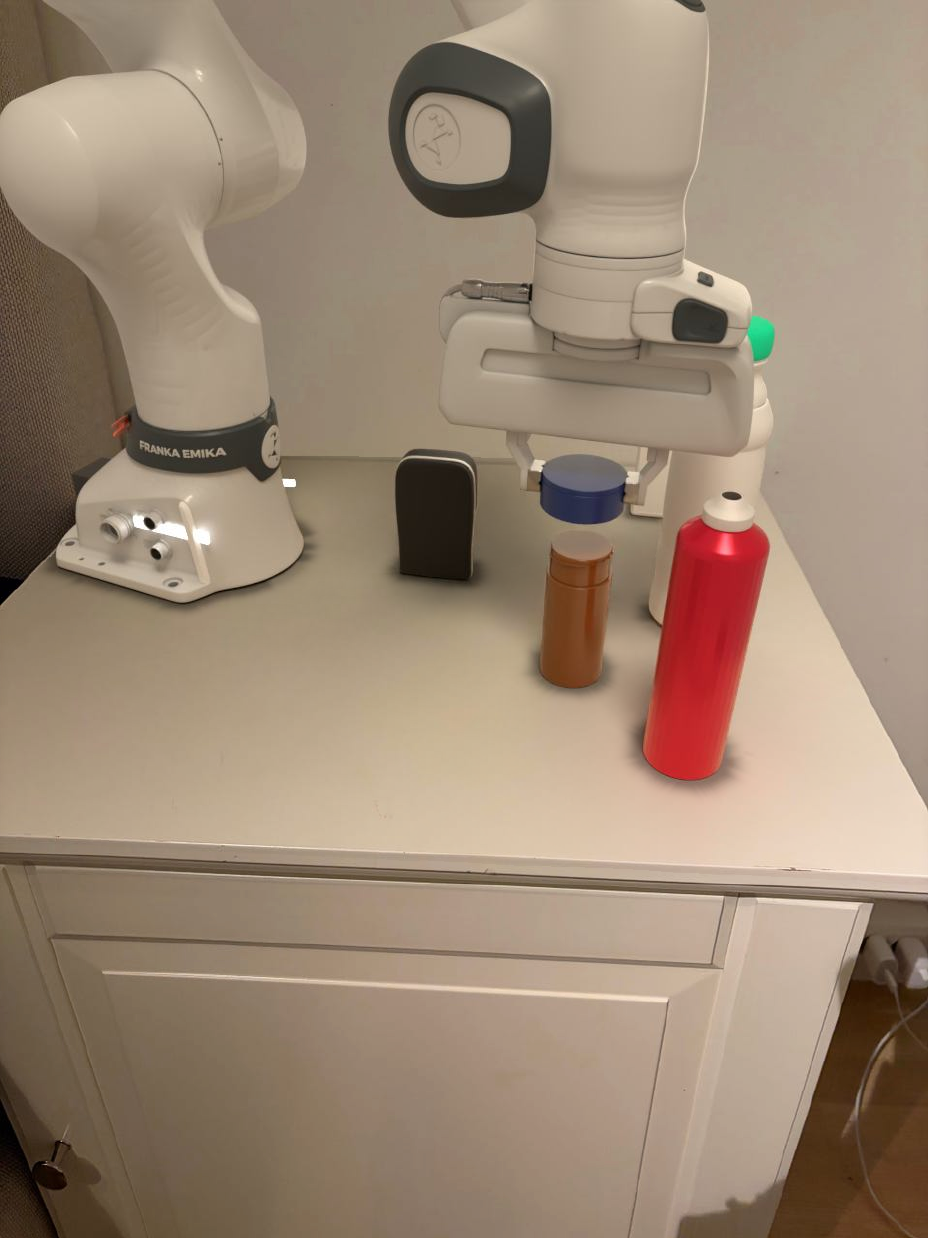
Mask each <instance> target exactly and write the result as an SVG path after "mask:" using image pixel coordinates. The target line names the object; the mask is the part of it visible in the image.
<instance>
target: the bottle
mask: <svg viewBox="0 0 928 1238" xmlns="http://www.w3.org/2000/svg"><path fill="white" fill-rule="evenodd" d="M755 515H756V509H755V510H754V508H753V507H752V506H751V505H750V504H748V503H746V501H745V499H744V498H743V496H742V495H741V494H739V493H737V492H733V491H725V492H722V493H721V494H720V495H718V496H717V497H716V498H713V499H710V500H708V501H707V502H705V504H704V506H703V512H702V515H699V516H696V517H693V518H691V519H689V520H688V521H686V522H685V523H684V524H683V525H682V526H681V527H680V529H679V530H678V533H677V536H676V542H675V549H674V555H673V561H672V567H671V573H670V580H669V586H668V592H667V598H666V605H665V611H664V617H663V623H662V625H661V630H660V636H659V642H658V649H657V656H656V660H655V661H656V662H655V667H654V673H653V674H654V675H653V680H652V687H651V692H650V698H649V705H648V711H647V718H646V724H645V729H644V736H643V742H642V752H643V755H644V758H645V759H646V761H647V762H648V763H649V764H650V766H651V767H653V768H654V769H655V770H657V772H659V773H661V774H663V775H665V776H668V777H671V778H674V779H678V780H683V781H684V780H685V781H695V780H703V779H704V778H708V777H710V776H712V775H713V774H715V773H716V772H717V771H718V770H719V768H720V767H721V765H722V761H723V757H724V753H725V750H726V749H725V748H726V744H727V739H728V735H729V731H730V728H731V727H730V726H731V722H732V718H733V715H734V709H735V704H736V701H737V697H738V692H739V687H740V684H741V678H742V674H743V671H744V665H745V661H746V656H747V653H748V652H747V651H748V648H749V643H750V640H751V634H752V631H753V627H754V623H755V622H754V621H755V617H756V612H757V608H758V604H759V600H760V595H761V591H762V586H763V582H764V578H765V573H766V569H767V564H768V560H769V556H770V550H771V543H770V540H769V537H768V535H767V533H766V532H765V531H764V530H763V529H762V528H761V527H760V526H759V525H758V524H757V523H756V522H755V523H754V521H755Z"/></svg>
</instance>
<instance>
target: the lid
mask: <svg viewBox="0 0 928 1238" xmlns="http://www.w3.org/2000/svg"><path fill="white" fill-rule="evenodd" d="M627 473H628V471H627V470H626V468H625V467H624V466H623V465H621V464H620V463H619V462H617V461H615V460H613V459H609V458H607V457H604V456H599V455H593V454H583V453H574V454H573V453H572V454H565V455H560V456H556V457H553V458H551V459H550V460H548V461H546V464H545V466H543V471H542V480H541V492H539V494H540V495H539V505H540V508H541V509H542V511H544V513H546V514H547V515H548V516H550V517H551V518H554V519H556V520H559V521H561V522H564V523H569V524H575V525H591V526H592V525H601V524H606V523H609V522H611V521H614V520H616V519H617V518H619V517H620V516H621V515H622V513H623V512H624V508H625V503H623V496H624V494H625V491H624V489H625V482H626V478H628V477H627Z"/></svg>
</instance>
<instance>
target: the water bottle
mask: <svg viewBox="0 0 928 1238" xmlns="http://www.w3.org/2000/svg"><path fill="white" fill-rule="evenodd" d="M775 334H776V329H775V327H774V325H773V323H772V322H771V321H769V320H768V319H766V318H764V317H760V316H757V315H752V317H751V322H750V326H749V329H748V332H747V335H748V337H749V339H750V342H751V345H752V349H753V359H754V401H753V415H752V424H751V431H750V437H749V441H748V444H747V446H746V447H745V448H744V449H742V450H741V451H740V452H739V453H738V454H736V455H735V456H733V457H721V456H713V455H705V454H697V453H688V452H680V451H672V456H671V461H670V466H669V472H668V478H667V485H666V492H665V499H664V507H663V518H661V519H662V521H661V536H660V538H659V540H658V543H657V548H656V553H655V562H654V563H655V564H654V565H655V566H654V568H655V573H654V576H653V579H652V583H651V586H650V591H649V597H648V609H649V613H650V614H651V616H652V617H653V618H654V620H655V621H656V622H657V623H658V624H659V625H661V626H662V623H663V617H664V611H665V605H666V598H667V592H668V586H669V580H670V573H671V567H672V561H673V555H674V549H675V542H676V536H677V533H678V530H679V529H680V527H681V526H682V525H683V524H684V523H685V522H686V521H688V520H689V519H691V518H693V517H696V516H699V515H702V512H703V506H704V504H705V502H707V501H708V500H710V499H713V498H716V497H717V496H718V495H720V494H721V493H722V492H725V491H733V492H737V493H739V494H741V495H742V496H743V498H744V499H745V501H746V503H748V504H750V505H751V506H752V507H753V508H754V510H755V511H756V509H757V504H758V500H759V496H760V495H759V494H760V491H761V485H762V480H763V475H764V467H765V461H766V454H767V443H768V442H769V440H770V438H771V436H772V433H773V430H774V424H775V423H774V422H775V421H774V413H773V409H772V406H771V402H770V400H769V398H768V389H767V385H766V383H765V381H764V379H763V375H762V369H763V366H764V365H765V364H766V363H767V362H768V361H769V357H770V355H771V354H772V351H773V348H774V343H775V337H776V335H775Z"/></svg>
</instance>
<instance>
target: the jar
mask: <svg viewBox="0 0 928 1238" xmlns="http://www.w3.org/2000/svg"><path fill="white" fill-rule="evenodd" d="M613 547H614V546H613V544H612V542H611V541H610V540H609V539H608V538H607V537H605V535H602V534H600V533H596V532H594V531H590V530H589V531H588V530H569V531H564V532H561V533H558V534H557V535H555V537H553V538H552V540H551V542H550V549H548V555H549V563H548V565H547V566H546V571H545V583H544V584H545V585H544V598H543V599H544V600H543V611H542V612H543V614H542V625H541V626H542V628H541V641H540V642H541V643H540V654H539V655H540V656H539V671H540V673H541V675H542V676H543V678H544V679H545V680H546V681H548V682H550V683H551V684H553V685H554V686H555V685H556V686H557V687H558V686H559V687H562V688H569V689H579V688H586V687H589V686H591V685H593V684H594V683H595V682H597V681H598V680H599V678H600V677H601V674H602V668H603V667H602V666H603V658H604V650H605V642H606V633H607V632H606V631H607V625H608V617H609V616H608V615H609V609H610V600H611V590H612V583H613V582H612V581H613V571H612V566H611V565H612V559H613V558H612V557H613V556H614V553H615V548H613Z"/></svg>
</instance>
